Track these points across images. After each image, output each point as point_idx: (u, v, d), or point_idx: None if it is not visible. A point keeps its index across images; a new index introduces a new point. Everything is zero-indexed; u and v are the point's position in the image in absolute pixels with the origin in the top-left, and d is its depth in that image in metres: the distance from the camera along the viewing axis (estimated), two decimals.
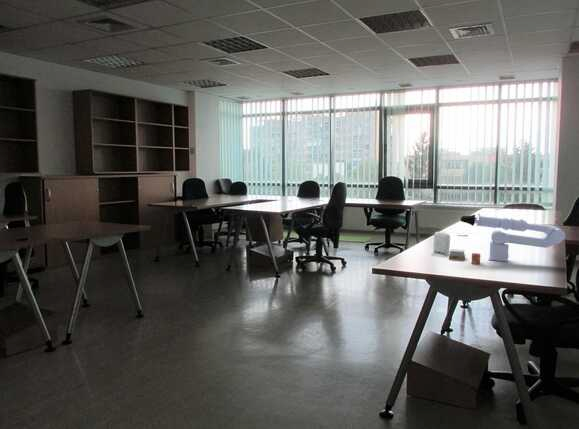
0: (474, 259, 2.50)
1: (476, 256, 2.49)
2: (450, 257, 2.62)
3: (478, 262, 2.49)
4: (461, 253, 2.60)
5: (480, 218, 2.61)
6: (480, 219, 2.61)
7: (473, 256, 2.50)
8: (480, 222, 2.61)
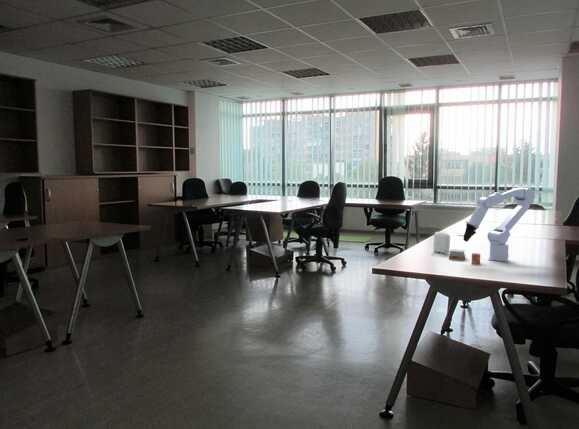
0: (474, 259, 2.50)
1: (476, 256, 2.49)
2: (450, 257, 2.62)
3: (478, 262, 2.49)
4: (461, 253, 2.60)
5: (471, 221, 2.54)
6: (472, 221, 2.54)
7: (473, 256, 2.50)
8: (475, 222, 2.53)
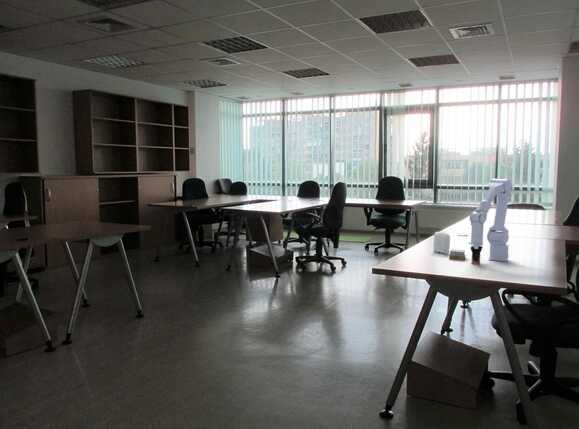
0: None
1: None
2: (450, 257, 2.62)
3: (478, 262, 2.49)
4: (461, 253, 2.60)
5: (473, 242, 2.49)
6: (474, 242, 2.48)
7: None
8: (477, 242, 2.48)
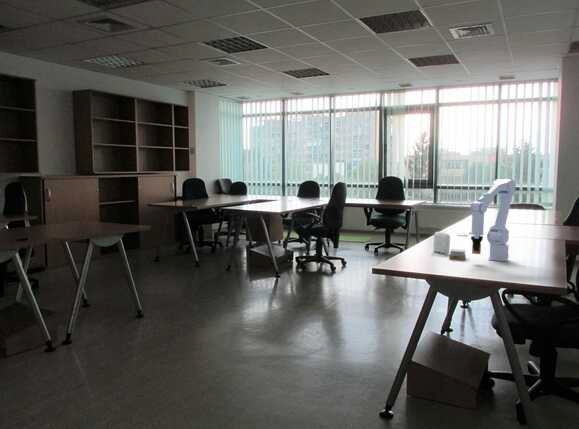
0: None
1: None
2: (450, 257, 2.62)
3: (479, 252, 2.48)
4: (462, 253, 2.60)
5: (474, 232, 2.48)
6: (475, 232, 2.48)
7: None
8: (478, 231, 2.47)
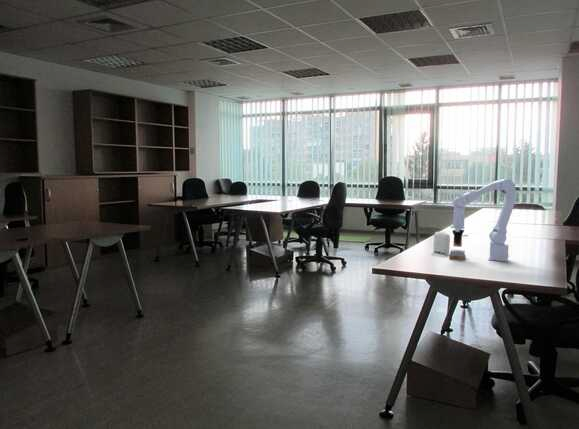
0: None
1: None
2: (451, 257, 2.62)
3: (459, 244, 2.61)
4: (461, 253, 2.60)
5: (455, 225, 2.61)
6: (456, 225, 2.61)
7: None
8: (459, 225, 2.60)
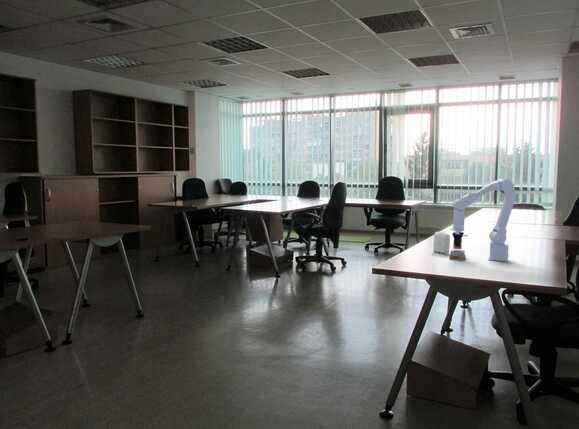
0: None
1: None
2: (451, 257, 2.62)
3: (459, 247, 2.62)
4: (462, 253, 2.60)
5: (455, 228, 2.61)
6: (456, 228, 2.61)
7: None
8: (459, 228, 2.60)
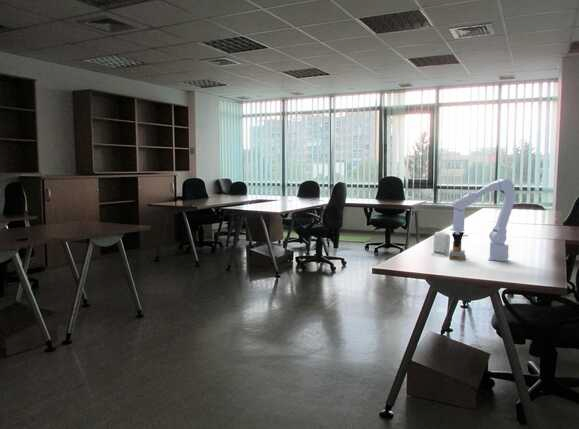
0: None
1: None
2: (451, 257, 2.62)
3: (459, 249, 2.62)
4: (461, 253, 2.60)
5: (455, 228, 2.61)
6: (456, 228, 2.61)
7: (454, 243, 2.62)
8: (459, 228, 2.60)
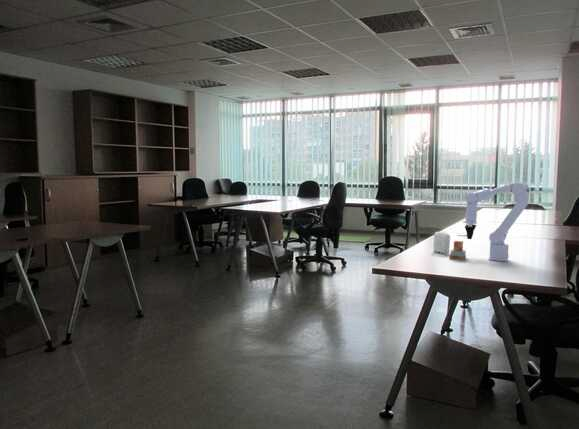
0: (456, 246, 2.62)
1: (458, 243, 2.62)
2: (451, 257, 2.62)
3: (460, 249, 2.61)
4: (462, 253, 2.60)
5: (467, 220, 2.68)
6: (468, 220, 2.67)
7: (455, 243, 2.62)
8: (471, 220, 2.67)
